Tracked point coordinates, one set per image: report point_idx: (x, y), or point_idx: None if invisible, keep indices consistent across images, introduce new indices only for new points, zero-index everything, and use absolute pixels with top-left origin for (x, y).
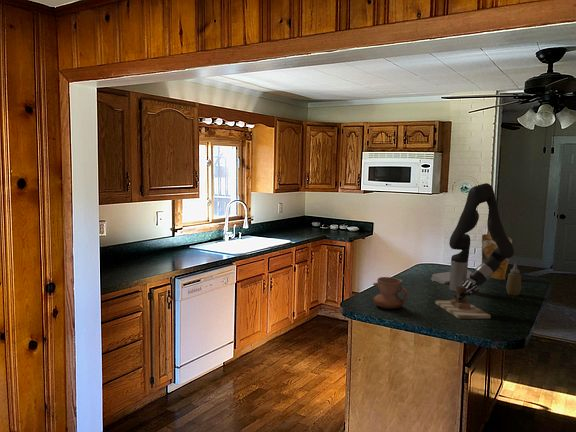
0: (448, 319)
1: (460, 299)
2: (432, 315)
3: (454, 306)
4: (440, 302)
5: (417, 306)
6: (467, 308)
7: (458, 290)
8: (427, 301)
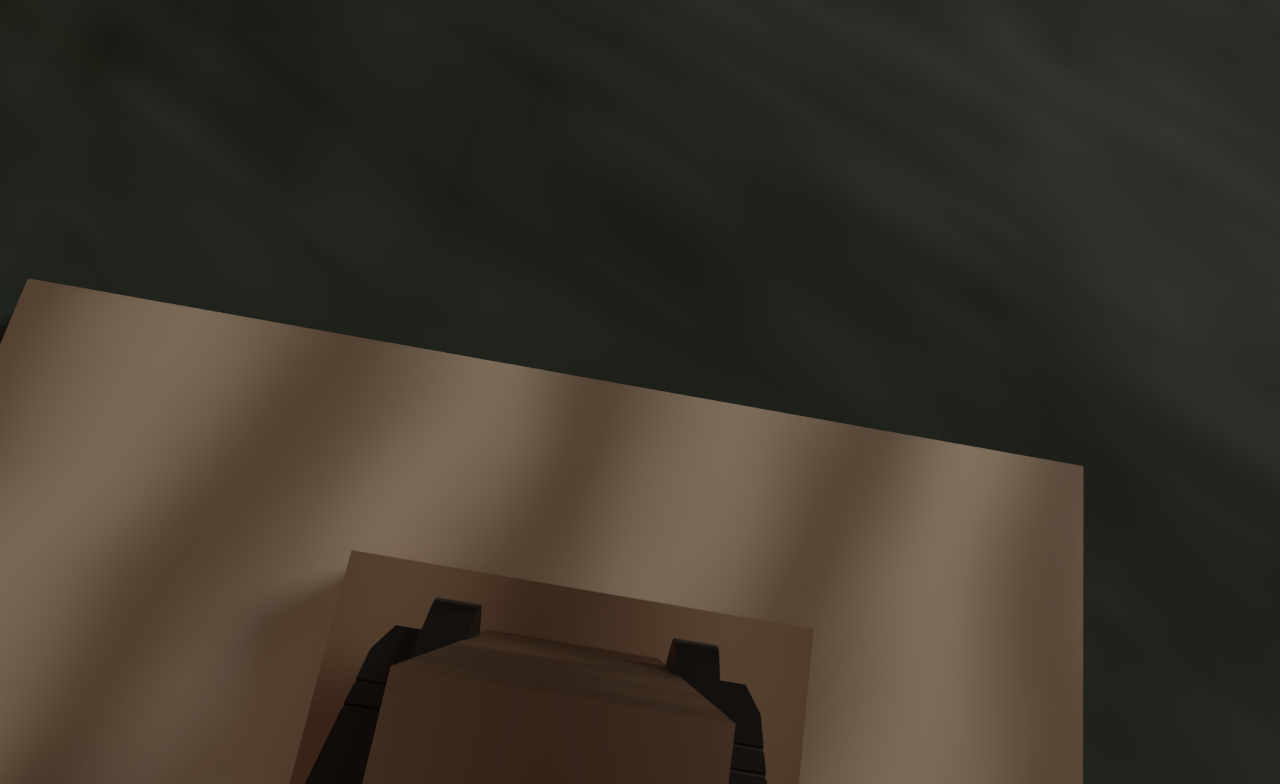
0: (117, 111)
1: None
2: (387, 7)
3: None
4: (925, 481)
5: (878, 64)
6: None
7: (486, 665)
8: (1166, 403)
